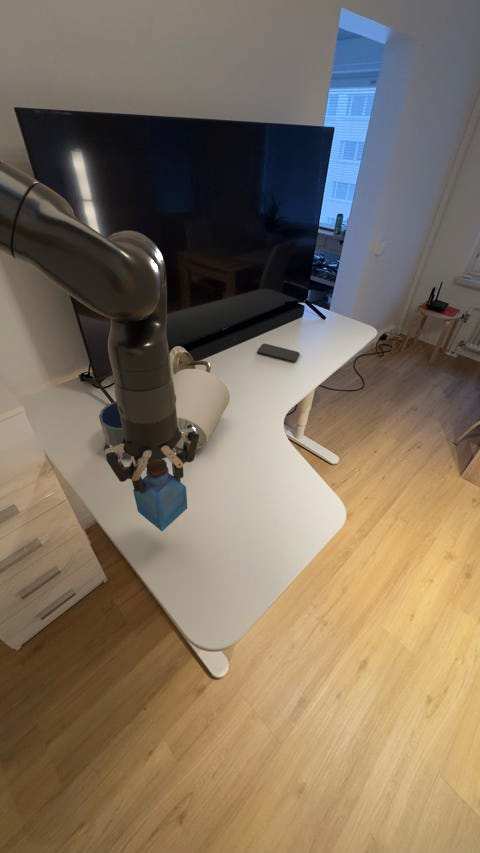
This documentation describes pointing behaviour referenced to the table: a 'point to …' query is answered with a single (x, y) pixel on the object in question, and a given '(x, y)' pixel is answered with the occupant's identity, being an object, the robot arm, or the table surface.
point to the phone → (278, 352)
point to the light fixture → (196, 395)
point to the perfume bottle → (161, 495)
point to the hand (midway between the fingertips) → (159, 483)
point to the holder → (112, 426)
